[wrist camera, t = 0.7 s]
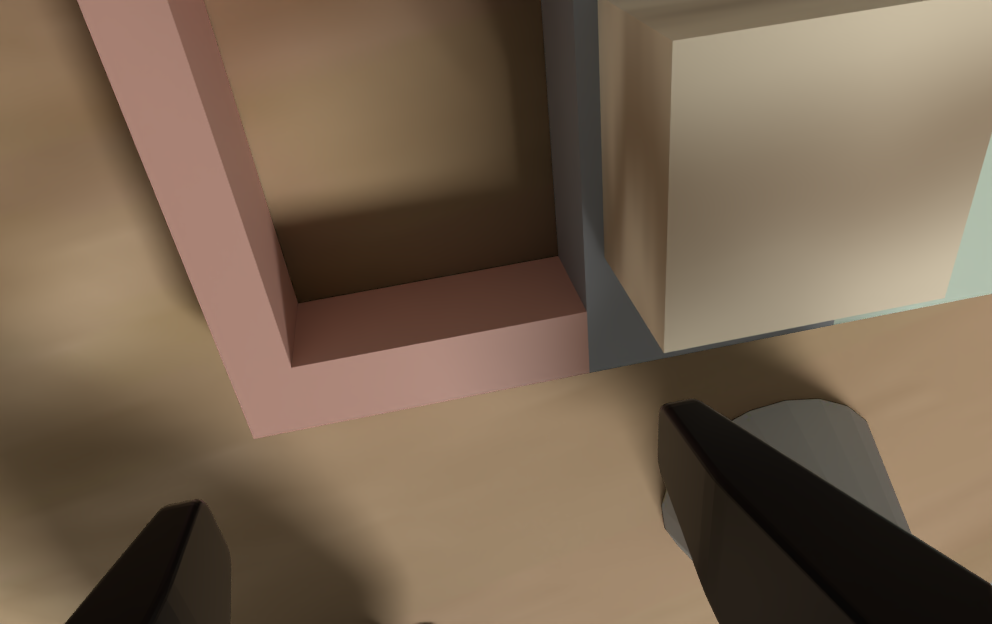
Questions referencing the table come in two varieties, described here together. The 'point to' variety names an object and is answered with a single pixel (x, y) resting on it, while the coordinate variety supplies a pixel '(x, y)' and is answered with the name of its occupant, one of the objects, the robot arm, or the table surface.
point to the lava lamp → (819, 453)
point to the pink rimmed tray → (408, 307)
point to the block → (788, 156)
